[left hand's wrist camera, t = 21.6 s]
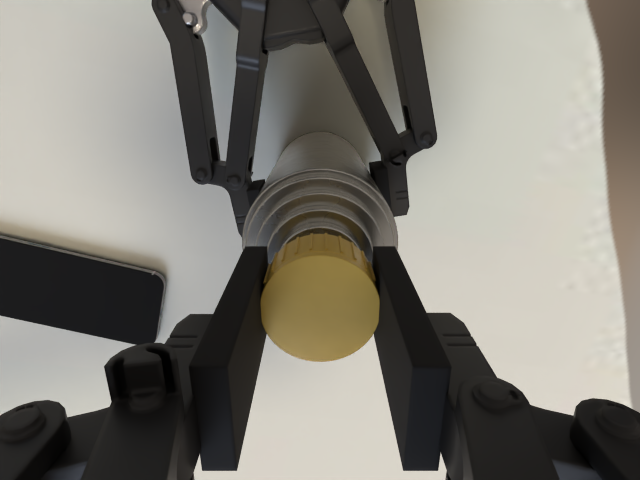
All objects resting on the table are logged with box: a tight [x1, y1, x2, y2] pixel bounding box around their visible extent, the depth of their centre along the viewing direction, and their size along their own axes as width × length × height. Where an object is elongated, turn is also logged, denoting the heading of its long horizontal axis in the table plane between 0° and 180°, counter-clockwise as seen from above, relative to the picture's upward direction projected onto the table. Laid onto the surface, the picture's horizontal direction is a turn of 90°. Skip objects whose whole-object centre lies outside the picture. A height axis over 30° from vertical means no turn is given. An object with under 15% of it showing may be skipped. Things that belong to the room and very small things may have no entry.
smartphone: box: [0, 235, 166, 345], centre depth 35 cm, size 7×1×15 cm
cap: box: [261, 233, 380, 362], centre depth 14 cm, size 4×4×2 cm
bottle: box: [242, 132, 398, 265], centre depth 23 cm, size 7×7×20 cm
